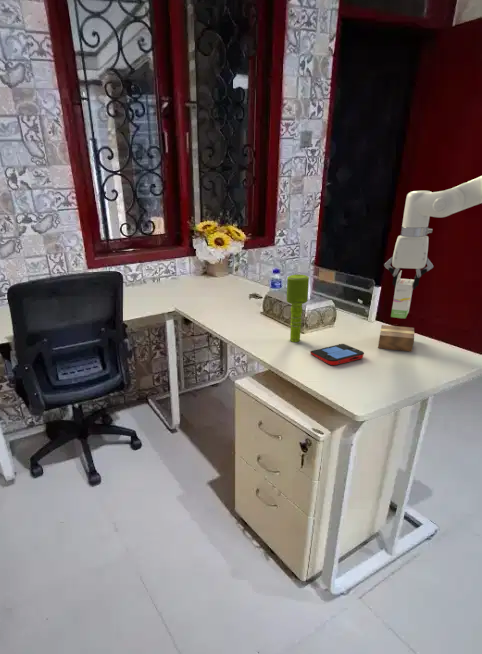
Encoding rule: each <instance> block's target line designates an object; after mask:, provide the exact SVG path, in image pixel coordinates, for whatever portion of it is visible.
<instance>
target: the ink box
mask: <svg viewBox="0 0 482 654" xmlns="http://www.w3.org/2000/svg"><path fill="white" fill-rule="evenodd" d="M402 272H403V270H401V269H400V270H399V272H398V277H397V282H396V287H395V288H394V293H393V294H394V295H393V301H392V306H391V313H390V318H394V319H395V318H397V319H407V316H408V314H409V313H410V308H411V302H412V295H413V290H414V289H413V285H414V279H412V278H410V279H409V278H401V276H402Z"/></svg>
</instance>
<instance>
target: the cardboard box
mask: <svg viewBox="0 0 482 654" xmlns="http://www.w3.org/2000/svg"><path fill="white" fill-rule="evenodd" d="M414 342H415V327H411V326H410V327H409V326H397V325H388V324H381V327H380V332H379V340H378V344H377V345H378V346H377V348H378V349H382V350H384V349H385V350H392V351H400V352H401V351H402V352H410V353H411V352H413V348H414V347H413V346H414Z"/></svg>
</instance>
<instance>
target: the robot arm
mask: <svg viewBox="0 0 482 654" xmlns="http://www.w3.org/2000/svg"><path fill="white" fill-rule="evenodd" d="M480 204H482V175H480V176H478V177H476V178H474V179H471V180H468V181H467V182H463V183H461V184H459V185H457V186H453V187H452V188H448V189H445V190H439V191H433V192H432V191H430V190H413V191H410V192H408V193H407V194H406V198H405V204H404V210H403V218H402V223H401V224H402V225H401V231H400V235H398V236H397V238H396V242H395V245H394V250H393V254H392V256H391V257H390V258H389V259H388V260H387V261H386V262H385V263H383V266H384V267H385V269H387V270H388V272H389V273H390V274H391V275H392V282H391V283H392V284H391V285H392V286H393V289H395V287H396V282H397V277H398V274H399V272H400V270H401V269H413V270H415V272H416V273H415V275H414V279H413V280H414V285H413V290H416V288H417V287H419V284H420V283H419V282H420V278H421V277H423V275H425V274H426V273H427V272H429V271H430V270H432V269H433V268H434V265H433V263H432V262H431V260H430V259H429V257H428V252H429V236H428V234H432V233H433V228H430V227H429V223H430V217H432V218H442V219H443V218H446V217H449V216H451V215H453V214H456V213H459V212H461V211H465V210H466V209H469V208H472V207H474V206H478V205H480ZM391 265H392V266H391ZM426 265H427V266H426Z"/></svg>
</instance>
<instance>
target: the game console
mask: <svg viewBox="0 0 482 654" xmlns="http://www.w3.org/2000/svg"><path fill="white" fill-rule="evenodd" d="M309 353H310V354H311V355H312V356H314V357H315V358H317V359H319V360H321V361H322V362H324V363H326V364H327V365H329V366H338V365H342V364H343V365H344V364H346V363H350V362H355V361H358V360H361V359H363V358H364V354H365V351H363V350H360V349H358V348H355V347H353V346H351V345H348V344H345V343H338V344H335V345H331V346H325V347H322V348H318V349H313V350H310V351H309Z"/></svg>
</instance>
